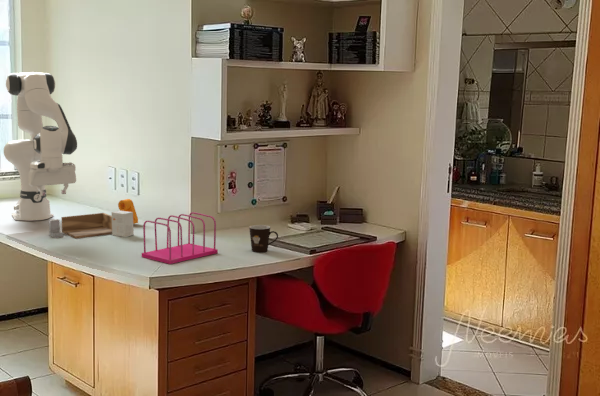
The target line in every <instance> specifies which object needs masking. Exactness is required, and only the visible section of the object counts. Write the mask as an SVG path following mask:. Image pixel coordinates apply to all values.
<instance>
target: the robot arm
mask: <svg viewBox="0 0 600 396" xmlns="http://www.w3.org/2000/svg"><path fill="white" fill-rule="evenodd" d="M5 87H6V90H7V92H8V93H9V94H10V95H11V96H17V100H16V114H17V126H18V128H19V129H20V130H21V131H23V132H24V133H27V134H29V135H30V137H31V139H16V140H15V139H14V140H11V141H7V142H6V143H5V145H4V147H3V155H4V156H3V157H5V160H7V161H8V162H9V163H11V164H12V165H13V166H14V168H16V169H17V171H18V174H19V178H20V188H21V189H20V191H19V192H20V193H19V200H18V201H17V203H16V205H13V210H14V211H16V212H13V213H11V216H12V218H13V219H14V221H27V222H28V221H29V222H30V221H43V220H47V219H48V220H49V219H50V218H52V217H54V214H53V213H51V206H50V205H51V204H50V200H49V199H48V198H47V194H48V193H47V190H46V186H54V185H63V189H61V190H60V191H61V195H67V190H68V188H69V184H76V183H77V175H76V164H74V162H64V161H63V155H72V154H73V153H75V151H76V150H77V149H78V140H77V137H76V135H75V134H74V132H73V130H72V129H71V128H72V127H71V126H70V124H69V121H68V118H67V117H66V114H65V112H64V110H63V108H62V106H61V105H60V104H59V103H58V102H56V101H55V100H54V99H53V97H52V96H51V95H52V94H53V93H54V91H55V88H56V81H55V77H54V76H53V75H52V73H48V72H37V71H36V72H34V71H30V72H19V73H18V72H12V73H9V74H8V75H7V78H6V80H5ZM42 116H43V117H46V118H49V119H52V120H53V121H54V122H55V123H56V126H55V125H45V126H44V124H43V117H42Z"/></svg>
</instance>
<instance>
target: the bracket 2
mask: <svg viewBox="0 0 600 396" xmlns="http://www.w3.org/2000/svg"><path fill="white" fill-rule="evenodd" d="M117 206H118V210H119V211H128V212H133V225H135V224H139V218H138V215H137V211H136V208H135V205H134V202H133V200H132V199H131V198H127V199H121V200H119V201H118V203H117Z"/></svg>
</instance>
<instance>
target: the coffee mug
mask: <svg viewBox="0 0 600 396" xmlns="http://www.w3.org/2000/svg"><path fill="white" fill-rule="evenodd" d="M248 229H249V237H250V245H251V252H253V253H257V254H258V253H259V254H260V253H267V252H268V249H269V245H272V244H273V243H276V241H277V240H278V238H279V234H278V232H276V231H275V230H272V231H271V226H270V225H265V224H264V225H262V224H256V225H254V224H253V225H249V228H248ZM273 233H274V234H275V235H276V238H275V239H274V240H272V241H271V242H270V235H271V234H273Z"/></svg>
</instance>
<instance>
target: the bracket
mask: <svg viewBox="0 0 600 396" xmlns="http://www.w3.org/2000/svg"><path fill="white" fill-rule="evenodd" d="M60 227H61V223H60V219H59V218H56V219H48V232H49V233H48V234H49V235H48V236H49V237H51V238H54V239H55V238H56V239H58V238H63V237H64V233H63V232H62V230H61V229H60Z"/></svg>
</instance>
